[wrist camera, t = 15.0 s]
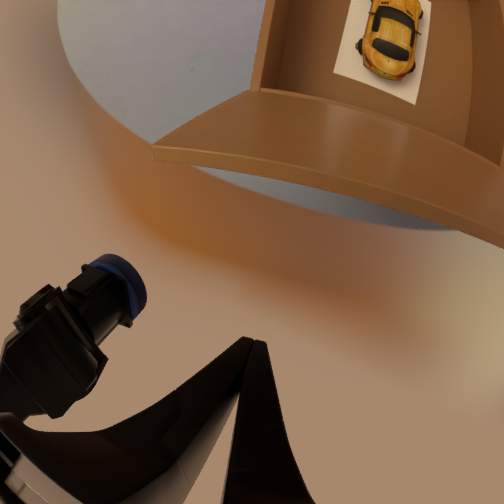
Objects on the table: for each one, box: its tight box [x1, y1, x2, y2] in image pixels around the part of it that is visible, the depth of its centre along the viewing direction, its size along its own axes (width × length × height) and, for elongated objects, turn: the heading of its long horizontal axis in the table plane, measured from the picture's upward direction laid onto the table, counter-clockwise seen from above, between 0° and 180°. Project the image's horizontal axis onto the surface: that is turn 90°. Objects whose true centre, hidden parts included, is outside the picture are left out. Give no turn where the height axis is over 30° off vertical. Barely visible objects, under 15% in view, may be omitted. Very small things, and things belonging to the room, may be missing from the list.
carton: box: [250, 0, 504, 173], centre depth 10 cm, size 16×15×6 cm
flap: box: [151, 90, 504, 249], centre depth 7 cm, size 8×15×1 cm
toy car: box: [333, 0, 431, 105], centre depth 10 cm, size 4×8×2 cm, turn 166°
